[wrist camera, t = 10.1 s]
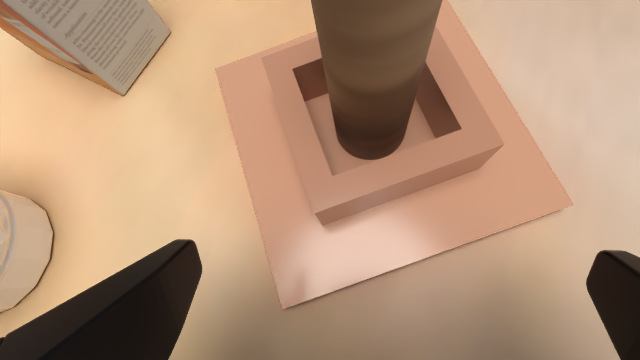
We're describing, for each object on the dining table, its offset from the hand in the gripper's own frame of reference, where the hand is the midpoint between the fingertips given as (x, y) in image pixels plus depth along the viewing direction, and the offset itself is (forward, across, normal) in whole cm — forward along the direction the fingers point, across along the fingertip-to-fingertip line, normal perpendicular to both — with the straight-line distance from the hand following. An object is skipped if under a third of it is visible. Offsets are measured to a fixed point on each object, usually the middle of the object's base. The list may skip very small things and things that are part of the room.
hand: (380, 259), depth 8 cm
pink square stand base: (+11, 0, +1) cm, 11 cm away
